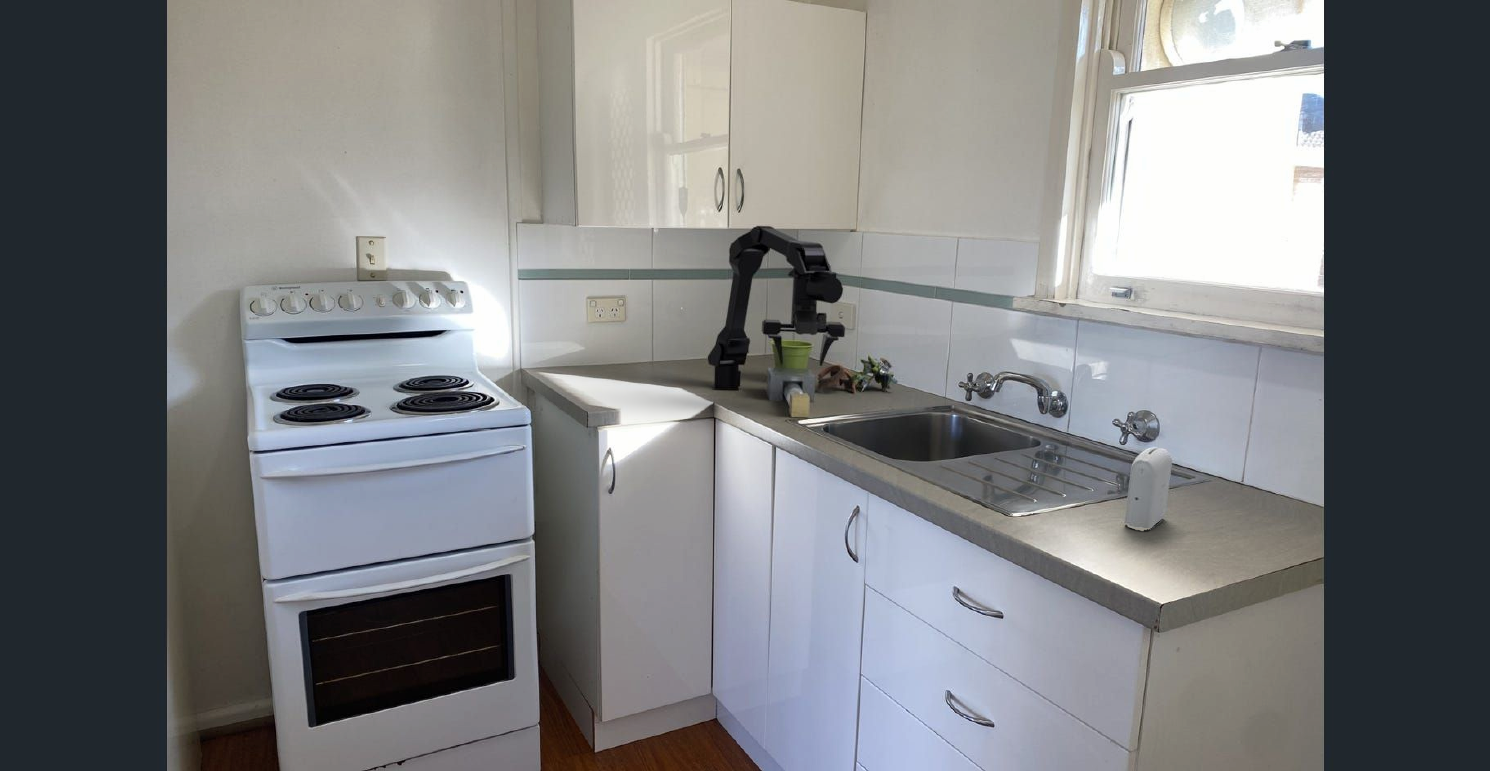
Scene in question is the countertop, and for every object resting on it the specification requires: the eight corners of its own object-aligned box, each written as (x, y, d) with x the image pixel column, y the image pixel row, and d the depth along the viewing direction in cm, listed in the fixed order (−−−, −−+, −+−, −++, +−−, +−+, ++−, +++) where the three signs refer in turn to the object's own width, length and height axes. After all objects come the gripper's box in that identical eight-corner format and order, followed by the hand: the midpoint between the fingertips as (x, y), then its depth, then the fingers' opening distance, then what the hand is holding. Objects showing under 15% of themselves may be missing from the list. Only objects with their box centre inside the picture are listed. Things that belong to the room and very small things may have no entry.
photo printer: (1148, 534, 142) (1158, 457, 140) (1120, 527, 145) (1129, 452, 143) (1168, 518, 150) (1177, 445, 148) (1141, 512, 153) (1150, 440, 150)
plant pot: (805, 389, 244) (807, 347, 242) (763, 385, 248) (764, 344, 246) (816, 381, 255) (818, 341, 253) (776, 377, 259) (777, 338, 257)
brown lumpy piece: (860, 398, 238) (847, 372, 235) (826, 411, 240) (814, 386, 237) (855, 378, 249) (844, 353, 246) (823, 391, 251) (811, 366, 248)
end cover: (783, 400, 228) (784, 382, 227) (800, 401, 229) (801, 383, 228) (790, 416, 211) (791, 397, 210) (809, 417, 211) (810, 397, 211)
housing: (766, 391, 239) (767, 367, 238) (808, 392, 240) (809, 368, 239) (770, 400, 229) (771, 375, 227) (813, 401, 229) (815, 376, 228)
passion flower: (882, 409, 248) (908, 378, 242) (854, 406, 241) (881, 374, 235) (862, 380, 255) (887, 349, 249) (834, 376, 248) (860, 344, 242)
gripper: (766, 300, 202) (763, 370, 205) (850, 303, 203) (846, 373, 206) (763, 295, 213) (760, 361, 216) (843, 298, 214) (838, 363, 217)
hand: (801, 365), depth 213 cm, fingers open, 9 cm apart
